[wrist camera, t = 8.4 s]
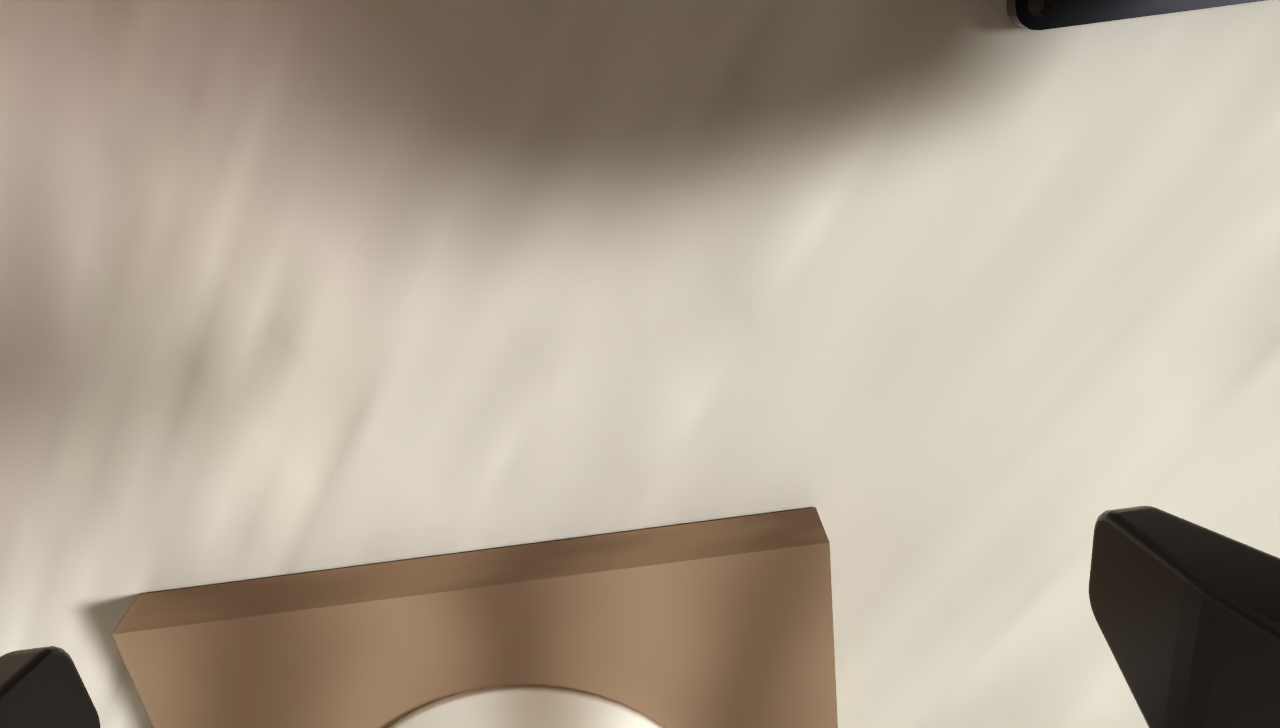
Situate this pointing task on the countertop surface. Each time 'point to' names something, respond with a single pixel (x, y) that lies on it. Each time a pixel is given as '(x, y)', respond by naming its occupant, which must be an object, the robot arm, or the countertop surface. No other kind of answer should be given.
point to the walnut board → (510, 637)
